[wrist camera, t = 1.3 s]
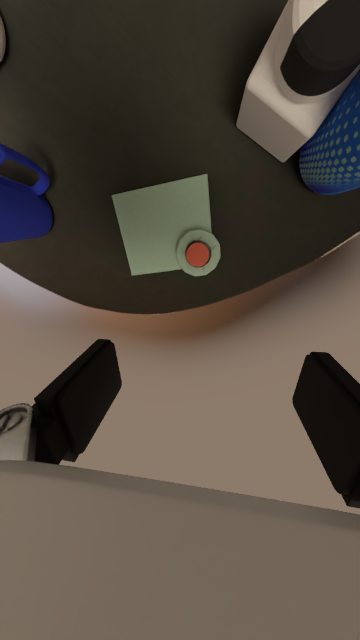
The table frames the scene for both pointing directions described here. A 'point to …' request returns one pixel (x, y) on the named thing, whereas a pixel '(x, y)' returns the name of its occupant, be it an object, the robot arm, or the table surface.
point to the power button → (197, 254)
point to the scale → (166, 226)
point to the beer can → (335, 147)
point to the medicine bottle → (301, 73)
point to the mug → (23, 202)
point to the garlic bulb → (2, 40)
